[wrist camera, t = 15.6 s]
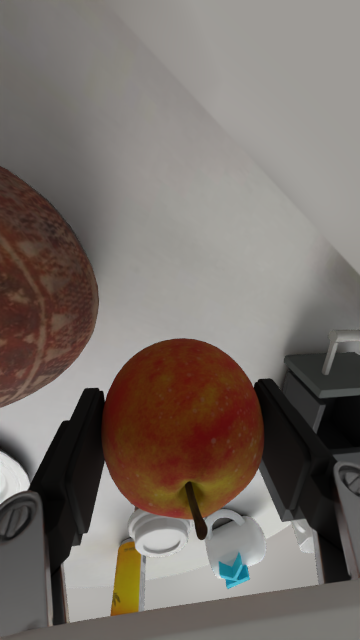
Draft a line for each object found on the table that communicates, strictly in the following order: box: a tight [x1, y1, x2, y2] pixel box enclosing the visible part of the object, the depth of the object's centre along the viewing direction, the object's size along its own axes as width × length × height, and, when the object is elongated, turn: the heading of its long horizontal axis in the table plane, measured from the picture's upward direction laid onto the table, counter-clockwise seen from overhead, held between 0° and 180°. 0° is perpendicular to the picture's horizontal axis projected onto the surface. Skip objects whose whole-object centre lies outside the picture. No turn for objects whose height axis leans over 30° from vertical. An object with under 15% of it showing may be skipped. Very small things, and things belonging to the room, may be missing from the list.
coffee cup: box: [128, 506, 194, 557], centre depth 34 cm, size 9×9×12 cm
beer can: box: [111, 538, 146, 616], centre depth 42 cm, size 6×6×15 cm
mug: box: [205, 509, 266, 589], centre depth 46 cm, size 12×9×12 cm
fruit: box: [101, 338, 264, 540], centre depth 9 cm, size 7×7×8 cm
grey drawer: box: [283, 330, 360, 450], centre depth 31 cm, size 20×11×8 cm, turn 0°
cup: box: [291, 519, 315, 553], centre depth 44 cm, size 7×10×8 cm
